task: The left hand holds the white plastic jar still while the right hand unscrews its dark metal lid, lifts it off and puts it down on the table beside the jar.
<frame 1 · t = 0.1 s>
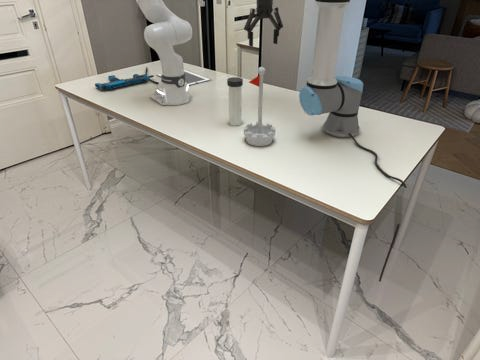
left hand: (210, 5, 138), 48 cm above the table, tool pointing down, fingers open, 8 cm apart
right hand: (263, 44, 167), 28 cm above the table, tool pointing down, fingers open, 13 cm apart
submachine gun: (124, 82, 209), on the table
tablet: (183, 77, 217), on the table
flag stand: (259, 140, 142), on the table
jar: (235, 123, 157), on the table
lid: (235, 80, 146), point 20 cm above the table, screwed on, not yet turned
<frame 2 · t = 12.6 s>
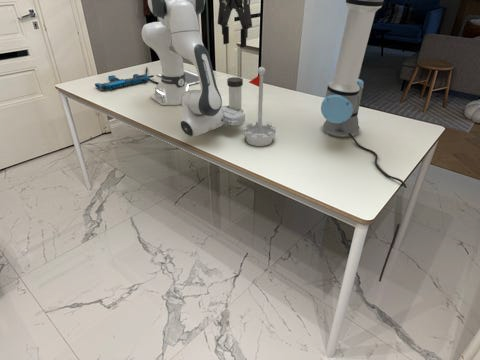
left hand: (236, 108, 154), 7 cm above the table, tool horizontal, fingers closed on jar, 5 cm apart
right hand: (234, 45, 138), 34 cm above the table, tool pointing down, fingers open, 8 cm apart
jar: (235, 123, 157), on the table, touching left hand
everything else where it was.
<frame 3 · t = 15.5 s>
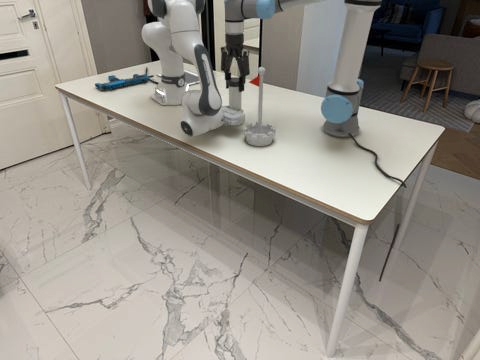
left hand: (236, 108, 154), 7 cm above the table, tool horizontal, fingers closed on jar, 5 cm apart
right hand: (235, 89, 148), 16 cm above the table, tool pointing down, fingers closed on lid, 7 cm apart
jar: (235, 123, 157), on the table, touching left hand
lid: (235, 80, 146), point 20 cm above the table, screwed on, not yet turned, touching right hand
everything else where it was.
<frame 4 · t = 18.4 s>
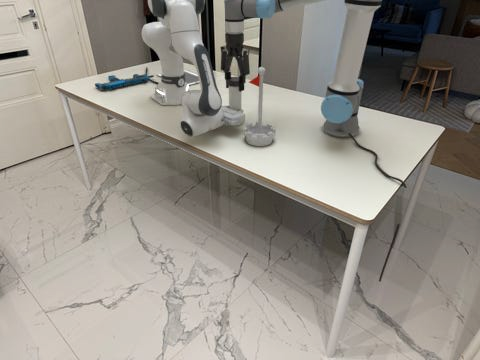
left hand: (236, 108, 154), 7 cm above the table, tool horizontal, fingers closed on jar, 5 cm apart
right hand: (235, 88, 148), 16 cm above the table, tool pointing down, fingers closed on lid, 7 cm apart
jar: (235, 123, 157), on the table, touching left hand
lid: (235, 79, 146), point 20 cm above the table, turned 72° so far, risen 0.2 cm, still on its thread, touching right hand
everything else where it was.
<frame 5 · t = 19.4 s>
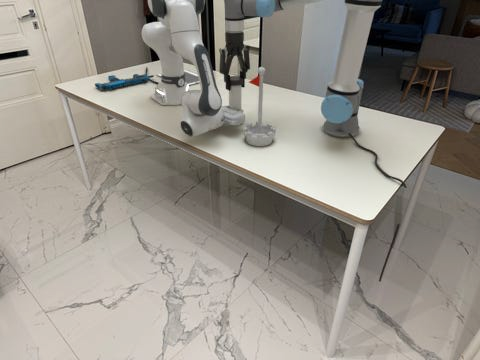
left hand: (236, 108, 154), 7 cm above the table, tool horizontal, fingers closed on jar, 5 cm apart
right hand: (235, 88, 148), 17 cm above the table, tool pointing down, fingers closed on lid, 7 cm apart
jar: (235, 123, 157), on the table, touching left hand
lid: (235, 78, 146), point 21 cm above the table, off its thread, touching right hand
everything else where it was.
when the right hand's fingers open (0 cm above the table, at t = 26.0 s): lid drops 2 cm, point 2 cm above the table.
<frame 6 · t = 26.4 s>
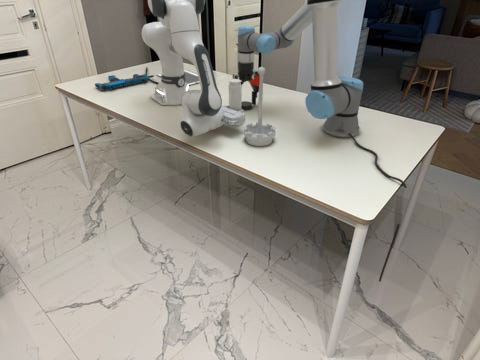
left hand: (236, 108, 154), 7 cm above the table, tool horizontal, fingers closed on jar, 5 cm apart
right hand: (245, 106, 173), 1 cm above the table, tool pointing down, fingers open, 10 cm apart
jar: (235, 123, 157), on the table, touching left hand
lid: (245, 104, 172), point 2 cm above the table, off its thread
everything else where it was.
when the left hand's fingers open (7 cm above the table, at t = 27.1 s): jar stays where it is, on the table.
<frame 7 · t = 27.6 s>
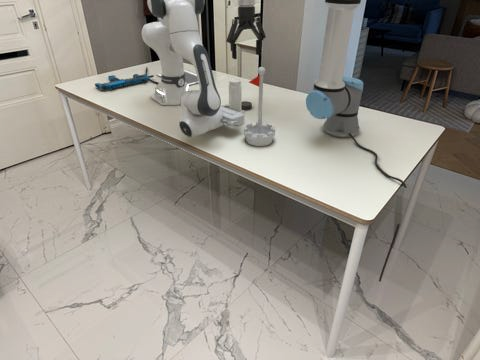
left hand: (235, 109, 153), 7 cm above the table, tool horizontal, fingers open, 8 cm apart
right hand: (246, 56, 159), 25 cm above the table, tool pointing down, fingers open, 13 cm apart
jar: (235, 123, 157), on the table
everything else where it was.
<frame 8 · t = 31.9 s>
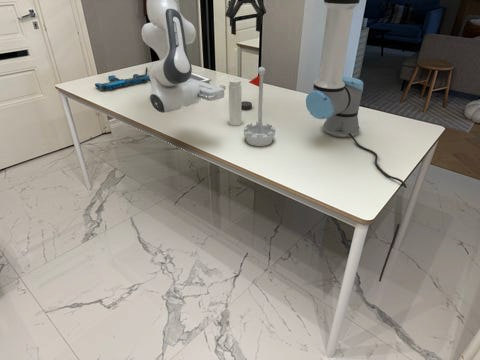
left hand: (216, 84, 139), 21 cm above the table, tool horizontal, fingers open, 8 cm apart
right hand: (246, 32, 154), 36 cm above the table, tool pointing down, fingers open, 13 cm apart
nothing on the table moved.
at the end: lid came off its thread; lid point 1.9 cm above the table; the left hand is holding nothing; the right hand is holding nothing; jar tilted 0°; jar moved 0.0 cm from its start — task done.
